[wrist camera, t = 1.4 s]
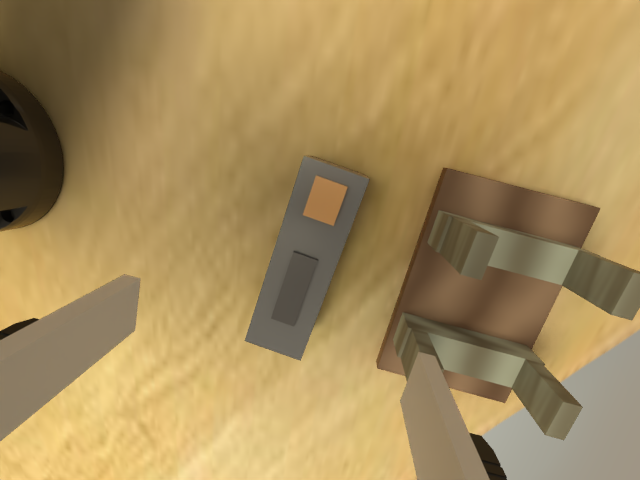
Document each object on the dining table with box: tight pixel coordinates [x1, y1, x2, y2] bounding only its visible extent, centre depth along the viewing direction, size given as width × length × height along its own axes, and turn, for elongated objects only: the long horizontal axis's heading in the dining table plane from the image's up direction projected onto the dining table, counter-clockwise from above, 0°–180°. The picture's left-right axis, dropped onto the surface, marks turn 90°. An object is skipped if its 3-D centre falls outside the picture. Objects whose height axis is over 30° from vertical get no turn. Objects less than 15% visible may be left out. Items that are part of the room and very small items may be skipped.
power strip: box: [245, 156, 370, 361], centre depth 28 cm, size 5×16×6 cm, turn 161°
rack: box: [376, 168, 640, 440], centre depth 26 cm, size 13×20×9 cm, turn 166°
